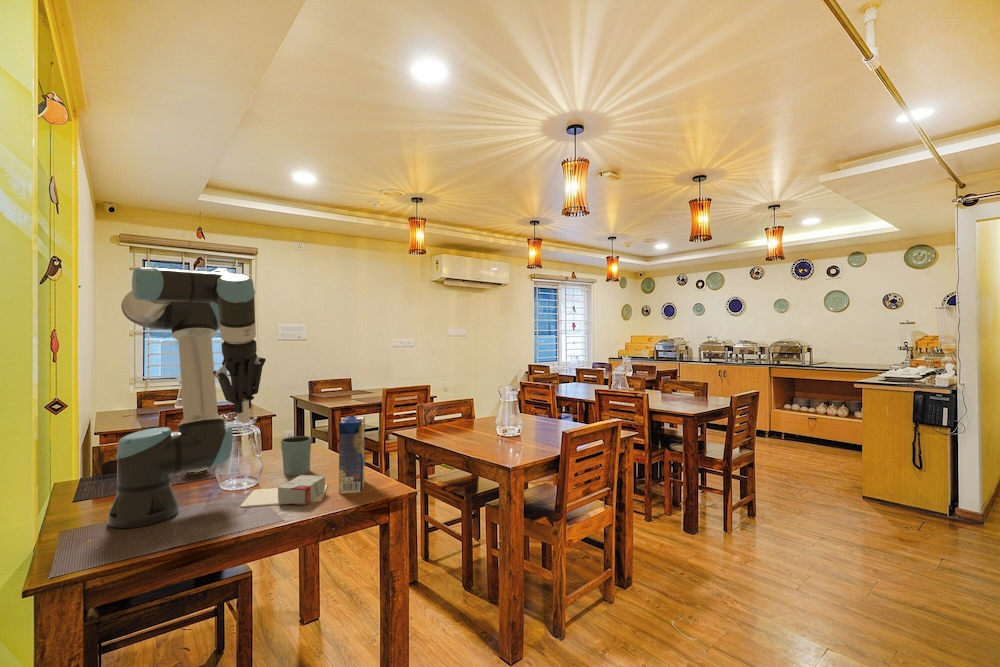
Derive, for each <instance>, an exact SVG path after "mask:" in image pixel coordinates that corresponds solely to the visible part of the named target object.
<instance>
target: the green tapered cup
mask: <svg viewBox="0 0 1000 667" xmlns="http://www.w3.org/2000/svg"><path fill="white" fill-rule="evenodd" d="M280 446H281V448H280V449H281V454H282V455H281V456H282V465H283V475H284V476H286V477H287V476H288V477H298V476H300V475H307V474H308V473H310V470H311V450H312V437H311V436H308V435H295V436H289V437H285V438H282V439H281V440H280Z"/></svg>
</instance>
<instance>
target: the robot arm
mask: <svg viewBox="0 0 1000 667" xmlns="http://www.w3.org/2000/svg"><path fill="white" fill-rule="evenodd" d="M131 276H132V278H131V289H132V290H131V291H128V293H126V295H125V296H124V297H123V299H122V300H121V310H122V313H123V315H124V316H125V318H126V319H127V320H128V321H130V322H132V323H134V324H136V325H137V326H141V327H144V328H147V329H151V330H152V329H153V330H169V331H170V330H171V337H172V338H174V339H175V340H176V341H177V342H178V352H179V355H178V356H179V369H180V383H181V384H180V386H181V397H182V398H181V399H182V400H181V401H182V414H183V418H182V420H181V421H180V422H179V423H178V424H177V431H172V429H171V428H170V427H167V426H163V427H154V428H153V427H152V428H146V429H143V430H138V431H135V432H132V433H130V434H126V435H124V436H123V437H121V438H120V439H119V440H118V442H117V447H116V455H115V459H116V460H117V461H116V462H117V463H116V464H117V465H116V467H117V468H116V496H115V498H114V500H113V502H112V505H111V509H110V511H109V513H108V526H109V527H110V528H114V529H115V528H116V529H133V528H139V527H145V526H149V525H155V524H157V523H161V522H163V521H166V520H168V519H171V518H172V517H174V516H175V515H176V514H178V513H179V500H178V499H177V496H176V494H175V490H174V489H173V487H172V484H171V482H172V480H171V477H172V475H174V474H181V473H185V472H187V473H188V471H193V470H198V469H204V468H207V469H211V468H213V467H219V466H222V465H225V464H227V462H228V460H229V459H230V456H231V453H232V448H233V442H234V440H233V438H234V436H233V435H234V434H233V428H232V426H231V425H230V424H225V418H224V417H223V416H221V415H219V414H218V400H217V399H218V398H217V388H216V378H217V379H218V383H219V386H220V388H221V391H222V393H223V396H224V399H225V400H226V402H229V403H232V404H233V409H234V410H233V411H234V412H235V413H236V414H237V415H236V416H237V419H236V420H237V421H238V422H240V423H242V424H243V425H245V424H249V423H250V421H251V418H250V415H251V414H250V410H251V408H252V401H253V400H254V398H255V397H254V395H257V394H259V390H260V389H259V388H260V382H261V377H262V372H263V367H264V365H265V362H266V358H265V357H263V356H261V355H258V354H257V351H258V349H257V348H258V347H257V339H256V337H257V329H256V327H257V326H256V325H257V324H256V302H255V301H256V300H255V294H256V290H255V287H254V286H255V285H254V279H252V277H250V276H248V275H244V274H239V273H237V274H236V273H233V272H230V271H229V270H227V269H222V268H221V269H220V268H218V269H214V270H212V271H197V270H182V269H173V268H172V269H170V268H161V267H160V268H158V267H155V266H153V267H152V266H151V267H143V266H142V267H136V268H134V270H133V272H132V275H131ZM218 330H219V331H220V332H219V334H220V338H221V340H220V343H221V344H220V346H221V355H222V356H223V360H222V364H221V365H222V366H221V367H220V368H219V369H215V364H214V354H213V353H214V352H213V338H214V337H216V336H217V331H218ZM228 373H229V374H228ZM229 376H230V378H229Z"/></svg>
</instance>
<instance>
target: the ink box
mask: <svg viewBox="0 0 1000 667" xmlns="http://www.w3.org/2000/svg"><path fill="white" fill-rule="evenodd" d="M325 485H326V476H324V475H309V474H308V475H307V474H303V475H298V476H295V477H294V478H292V479H291V480H290V481H287V482H286V483H284V484H282V485H280V486H279V487H277V488H278V503H279V504H280V505H297V506H300V505H301V506H305V505H306V504H308V503H310V502H309V501H311V500H312V499H314V498H315V497H316V496H318V495H319V494H321V493H322V492H324V491H325ZM325 492H326V491H325Z"/></svg>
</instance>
